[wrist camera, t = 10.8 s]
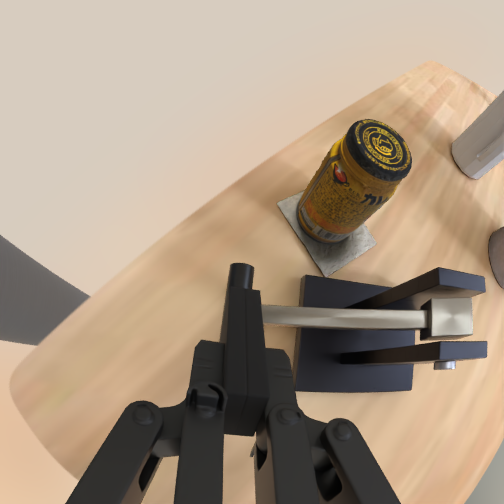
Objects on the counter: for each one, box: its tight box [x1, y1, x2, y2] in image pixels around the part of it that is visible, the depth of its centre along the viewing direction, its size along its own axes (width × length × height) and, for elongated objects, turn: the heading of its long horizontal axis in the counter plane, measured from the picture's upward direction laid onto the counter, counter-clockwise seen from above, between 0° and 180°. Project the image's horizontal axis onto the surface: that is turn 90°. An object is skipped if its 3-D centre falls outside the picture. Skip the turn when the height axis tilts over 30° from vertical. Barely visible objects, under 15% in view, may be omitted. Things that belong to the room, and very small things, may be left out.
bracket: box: [292, 267, 487, 393], centre depth 20 cm, size 12×10×14 cm
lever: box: [219, 263, 473, 343], centre depth 17 cm, size 15×6×2 cm, turn 84°
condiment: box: [277, 119, 412, 278], centre depth 24 cm, size 7×8×12 cm
